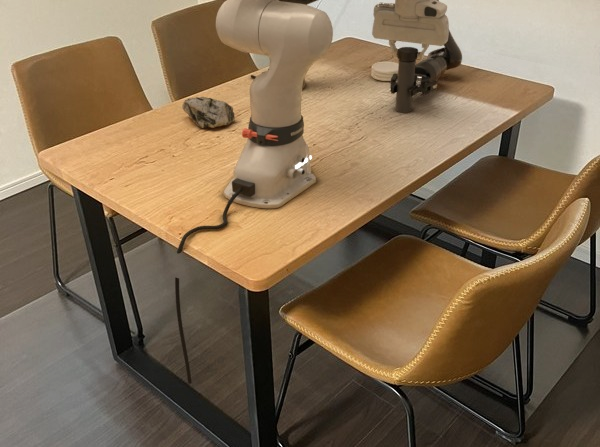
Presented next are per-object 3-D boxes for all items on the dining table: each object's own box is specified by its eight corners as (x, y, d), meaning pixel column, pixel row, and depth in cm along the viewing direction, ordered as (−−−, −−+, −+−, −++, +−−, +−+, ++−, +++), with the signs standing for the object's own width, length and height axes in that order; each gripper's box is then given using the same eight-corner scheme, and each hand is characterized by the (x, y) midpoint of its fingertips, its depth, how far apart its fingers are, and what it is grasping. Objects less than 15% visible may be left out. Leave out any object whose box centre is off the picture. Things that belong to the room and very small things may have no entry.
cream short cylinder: (368, 72, 203) (368, 61, 202) (398, 70, 204) (398, 60, 202) (374, 82, 195) (374, 71, 193) (405, 81, 196) (406, 70, 194)
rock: (239, 121, 170) (237, 97, 166) (209, 132, 164) (207, 107, 160) (207, 109, 179) (204, 85, 175) (178, 118, 173) (174, 94, 169)
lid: (418, 55, 170) (418, 47, 169) (417, 61, 165) (417, 53, 164) (398, 54, 171) (398, 46, 170) (396, 60, 166) (397, 52, 165)
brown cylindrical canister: (406, 114, 174) (411, 56, 165) (392, 110, 176) (396, 53, 167) (414, 109, 177) (419, 52, 168) (400, 105, 179) (404, 49, 170)
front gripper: (369, 4, 162) (367, 56, 170) (447, 11, 155) (441, 66, 162) (378, -1, 167) (375, 50, 175) (453, 6, 159) (447, 59, 167)
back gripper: (403, 57, 184) (378, 74, 172) (449, 65, 178) (426, 83, 166) (401, 82, 188) (376, 100, 176) (446, 90, 182) (424, 109, 170)
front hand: (407, 57), depth 168 cm, fingers open, 5 cm apart
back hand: (401, 92), depth 171 cm, fingers closed on brown cylindrical canister, 4 cm apart
